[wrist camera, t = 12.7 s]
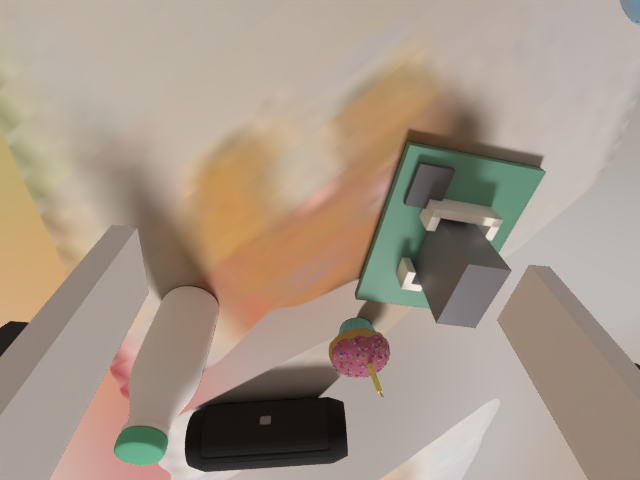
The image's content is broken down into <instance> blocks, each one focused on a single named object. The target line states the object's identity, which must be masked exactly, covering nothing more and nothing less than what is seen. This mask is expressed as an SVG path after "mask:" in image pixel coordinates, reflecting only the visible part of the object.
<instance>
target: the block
mask: <svg viewBox="0 0 640 480" xmlns="http://www.w3.org/2000/svg"><path fill="white" fill-rule="evenodd" d="M413 267H414V269H415V272H416V275H417V277H418V280H419V282H420V285H421V287H422V290H423V292H424V294H425V297H426V299H427V302H428V304H429V307H430V309H431V311H432V314H433V316H434V319H435V321H436V323H439V324H447V325H456V326H463V327H471V328H476V326H477V324H478V323H479V321H480V320H481V318H482V317H483V315H484V313H485V312H486V310H487V309H488V307H489V305H490V304H491V302H492V301H493V299H494V298H495V296H496V294H497V293H498V291H499V290H500V288H501V287H502V285H503V283H504V282H505V280H506V279H507V277H508V276H509V274H510V272H511V269H510V268H509V267H508V265H507V264H506V263H505V261H504V260H503V259H502V258H501V256H500V255H499V254H498V252H497V251H496V250H495V248H494V247H493V246H492V245H491V243H490V242H489V241H488V239H487V238H486V237H485V235H484V234H483V233H482V232H481V230H480V229H479V228H478V226H477V225H476V224H473V223H467V222H461V221H455V220H449V219H443V218H441V219H440V221H439V223H438V225H437V228H436V230H435V231H429V230H428V231H427V233H426V236H425V238H424V240H423V243H422V245H421V247H420V249H419V252H418V254H417V256H416V258H415V261H414V263H413Z"/></svg>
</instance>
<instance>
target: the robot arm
mask: <svg viewBox="0 0 640 480" xmlns="http://www.w3.org/2000/svg"><path fill="white" fill-rule="evenodd" d="M620 3H621V6H622V8H623V10H624V12H625V14H626V15H627V16H628V18H629V19H630V20H631V21H632V22H634V23H635V24H638V25H640V0H620ZM148 293H149V290H148V284H147V279H146V273H145V268H144V262H143V257H142V251H141V245H140V240H139V234H138V229H137V228H136V227H125V226H115V225H112V226H111V227H110V228H109V229H108V230H107V231H106V233H105V234H104V235H103V236H102V237H101V239H100V240H99V241H98V242H97V243H96V244H95V246H94V247H93V248H92V249H91V250H90V252H89V253H88V254H87V255H86V256H85V257H84V259H83V260H82V261H81V262H80V263H79V265H78V266H77V267H76V268H75V269H74V270H73V272H72V273H71V274H70V275H69V276H68V278H67V279H66V280H65V281H64V282H63V283H62V285H61V286H60V287H59V288H58V289H57V291H56V292H55V293H54V294H53V295H52V297H51V298H50V299H49V300H48V301H47V302H46V304H45V305H44V306H43V307H42V308H41V310H40V311H39V312H38V313H37V314H36V315H35V317H34V318H33V319H32V320H31V322H30V323H27V322H14V321H10V322H8V323H7V324H5V325H4V326H2V327H1V328H0V480H49V479H50V477H51V475H52V474H53V472H54V470H55V468H56V466H57V464H58V462H59V460H60V459H61V457H62V455H63V453H64V451H65V449H66V447H67V445H68V443H69V442H70V440H71V438H72V436H73V434H74V432H75V430H76V428H77V426H78V425H79V423H80V421H81V419H82V417H83V415H84V413H85V412H86V410H87V408H88V406H89V404H90V402H91V400H92V398H93V397H94V395H95V393H96V391H97V389H98V387H99V385H100V383H101V381H102V380H103V378H104V376H105V374H106V372H107V370H108V368H109V367H110V365H111V363H112V361H113V359H114V357H115V355H116V353H117V352H118V350H119V348H120V346H121V344H122V342H123V340H124V338H125V336H126V335H127V333H128V331H129V329H130V327H131V325H132V323H133V321H134V320H135V318H136V316H137V314H138V312H139V310H140V308H141V306H142V305H143V303H144V301H145V299H146V297H147V295H148ZM497 321H498V322H499V324H500V326H501V328H502V330H503V331H504V333H505V335H506V336H507V338H508V340H509V342H510V344H511V345H512V347H513V349H514V351H515V352H516V354H517V356H518V358H519V359H520V361H521V363H522V364H523V366H524V368H525V370H526V371H527V373H528V375H529V377H530V379H531V380H532V382H533V384H534V386H535V387H536V389H537V391H538V393H539V394H540V396H541V398H542V400H543V401H544V403H545V405H546V407H547V408H548V410H549V412H550V414H551V415H552V417H553V419H554V420H555V422H556V424H557V426H558V428H559V429H560V431H561V433H562V434H563V436H564V438H565V440H566V442H567V443H568V445H569V447H570V448H571V450H572V452H573V454H574V455H575V457H576V459H577V461H578V462H579V464H580V466H581V468H582V470H583V471H584V473H585V475H586V476H587V478H588V480H640V365H638V364H636V363H633V362H632V361H631V359H630V358H629V357H628V356H627V355H626V354H625V353H624V352H623V350H622V349H621V348H620V347H619V346H618V345H617V343H616V342H615V341H614V340H613V339H612V338H611V337H610V336H609V334H608V333H607V332H606V331H605V330H604V329H603V327H602V326H601V325H600V324H599V323H598V322H597V321H596V319H595V318H594V317H593V316H592V315H591V314H590V313H589V311H588V310H587V309H586V308H585V307H584V306H583V305H582V303H581V302H580V301H579V300H578V299H577V298H576V296H575V295H574V294H573V293H572V292H571V291H570V290H569V288H568V287H567V286H566V285H565V284H564V283H563V282H562V281H561V279H560V278H559V277H558V276H557V275H556V274H555V273H554V271H553V270H552V269H551V268H550V267H546V266H536V265H529V266H528V268H527V269H526V271H525V273H524V274H523V276H522V278H521V280H520V281H519V283H518V285H517V287H516V288H515V290H514V292H513V293H512V295H511V297H510V298H509V300H508V302H507V304H506V305H505V307H504V309H503V311H502V312H501V314H500V315H499V317H498V319H497Z"/></svg>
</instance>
